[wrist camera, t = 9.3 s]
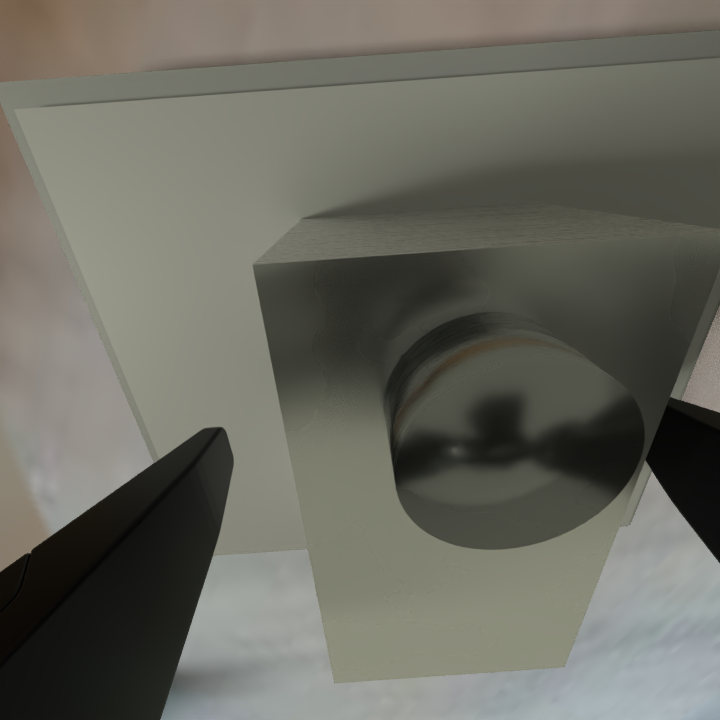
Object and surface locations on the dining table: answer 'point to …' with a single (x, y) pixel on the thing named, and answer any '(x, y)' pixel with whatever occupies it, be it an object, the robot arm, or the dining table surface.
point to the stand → (335, 200)
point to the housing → (472, 417)
